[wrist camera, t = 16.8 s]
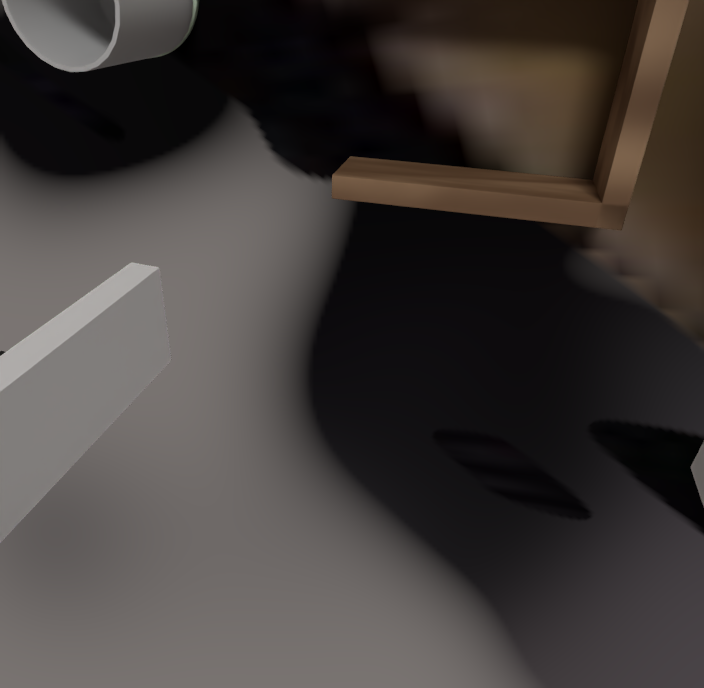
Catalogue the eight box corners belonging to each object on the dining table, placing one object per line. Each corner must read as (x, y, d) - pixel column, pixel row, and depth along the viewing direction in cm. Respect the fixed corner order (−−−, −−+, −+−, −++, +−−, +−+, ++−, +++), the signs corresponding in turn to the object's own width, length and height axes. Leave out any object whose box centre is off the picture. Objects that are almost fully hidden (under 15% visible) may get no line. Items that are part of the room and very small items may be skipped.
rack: (357, -77, 35) (336, -85, 30) (685, -69, 31) (711, -77, 27) (349, 177, 43) (331, 198, 38) (610, 204, 39) (621, 230, 35)
